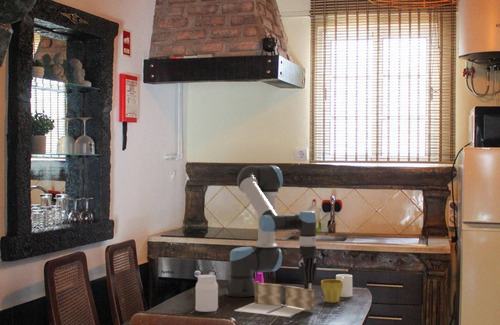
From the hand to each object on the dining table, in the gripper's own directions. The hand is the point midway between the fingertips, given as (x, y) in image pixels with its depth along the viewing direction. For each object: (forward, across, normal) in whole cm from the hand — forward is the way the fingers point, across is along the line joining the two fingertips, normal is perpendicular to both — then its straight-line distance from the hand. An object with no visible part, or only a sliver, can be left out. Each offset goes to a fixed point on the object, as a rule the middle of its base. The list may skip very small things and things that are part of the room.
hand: (308, 297), depth 320 cm
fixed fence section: (+6, -4, +20) cm, 21 cm away
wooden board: (+6, -2, +12) cm, 13 cm away
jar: (+6, -30, +35) cm, 46 cm away
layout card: (+5, -11, +12) cm, 17 cm away
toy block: (+6, +27, +61) cm, 67 cm away
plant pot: (+6, +23, +3) cm, 24 cm away
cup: (+6, +37, +6) cm, 38 cm away
